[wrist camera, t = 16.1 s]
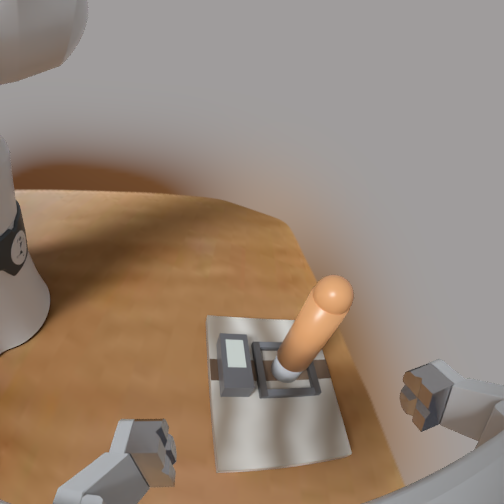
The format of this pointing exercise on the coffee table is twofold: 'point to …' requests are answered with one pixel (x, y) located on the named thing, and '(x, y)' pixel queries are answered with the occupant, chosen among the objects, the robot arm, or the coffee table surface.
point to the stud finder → (234, 365)
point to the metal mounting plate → (272, 406)
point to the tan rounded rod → (313, 327)
